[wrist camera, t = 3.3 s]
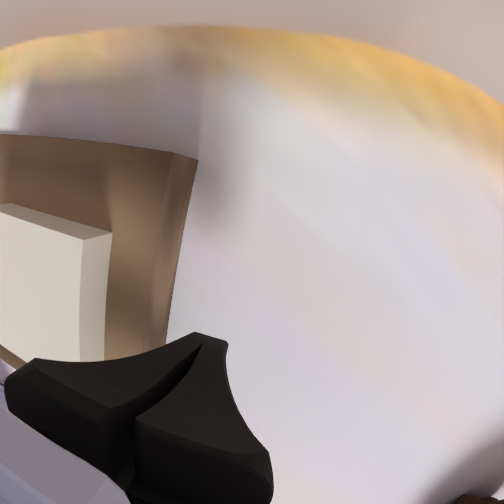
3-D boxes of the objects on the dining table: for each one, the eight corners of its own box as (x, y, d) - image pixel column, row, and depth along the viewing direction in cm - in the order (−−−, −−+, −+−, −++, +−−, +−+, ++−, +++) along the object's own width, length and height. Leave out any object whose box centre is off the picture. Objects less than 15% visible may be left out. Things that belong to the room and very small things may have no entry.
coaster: (104, 373, 13) (82, 394, 11) (11, 324, 14) (-11, 335, 12) (112, 232, 12) (83, 239, 10) (11, 203, 12) (-17, 206, 11)
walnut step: (158, 405, 17) (138, 436, 14) (19, 336, 18) (-8, 351, 15) (198, 160, 14) (173, 152, 11) (27, 138, 15) (-7, 134, 12)
